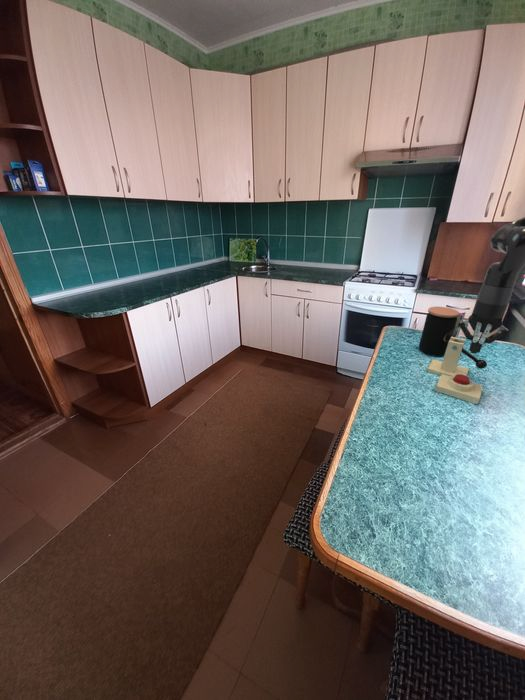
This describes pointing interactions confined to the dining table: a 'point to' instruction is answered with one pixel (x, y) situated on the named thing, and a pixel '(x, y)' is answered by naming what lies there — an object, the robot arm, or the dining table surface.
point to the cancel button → (461, 379)
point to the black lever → (474, 358)
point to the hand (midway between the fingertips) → (473, 352)
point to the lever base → (449, 360)
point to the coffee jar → (438, 330)
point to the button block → (459, 389)
